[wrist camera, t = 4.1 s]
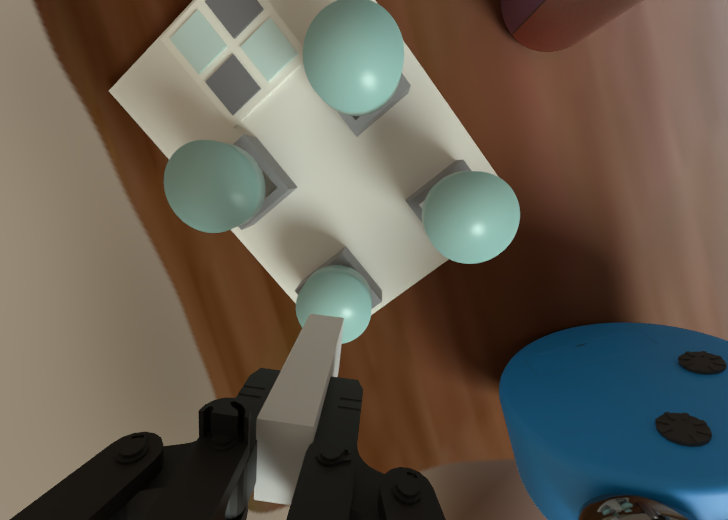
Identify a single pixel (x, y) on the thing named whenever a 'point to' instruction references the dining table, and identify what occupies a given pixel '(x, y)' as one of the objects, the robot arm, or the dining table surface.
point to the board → (303, 142)
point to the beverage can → (558, 20)
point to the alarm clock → (621, 422)
